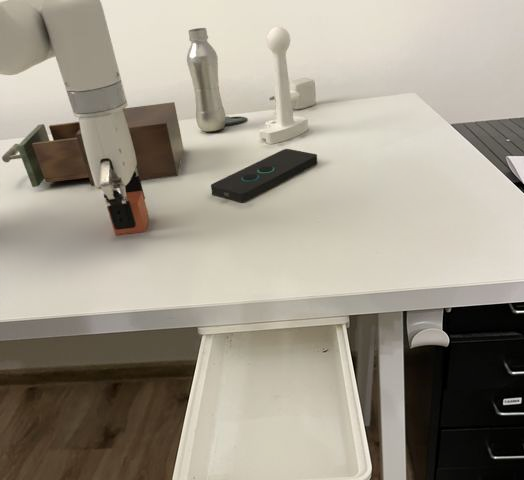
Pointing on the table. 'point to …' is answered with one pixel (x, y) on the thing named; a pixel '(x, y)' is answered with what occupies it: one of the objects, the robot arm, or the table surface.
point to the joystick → (282, 94)
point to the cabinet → (150, 141)
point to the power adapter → (301, 93)
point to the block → (135, 213)
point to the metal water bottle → (205, 81)
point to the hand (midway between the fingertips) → (131, 214)
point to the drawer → (50, 154)
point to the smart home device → (263, 175)
